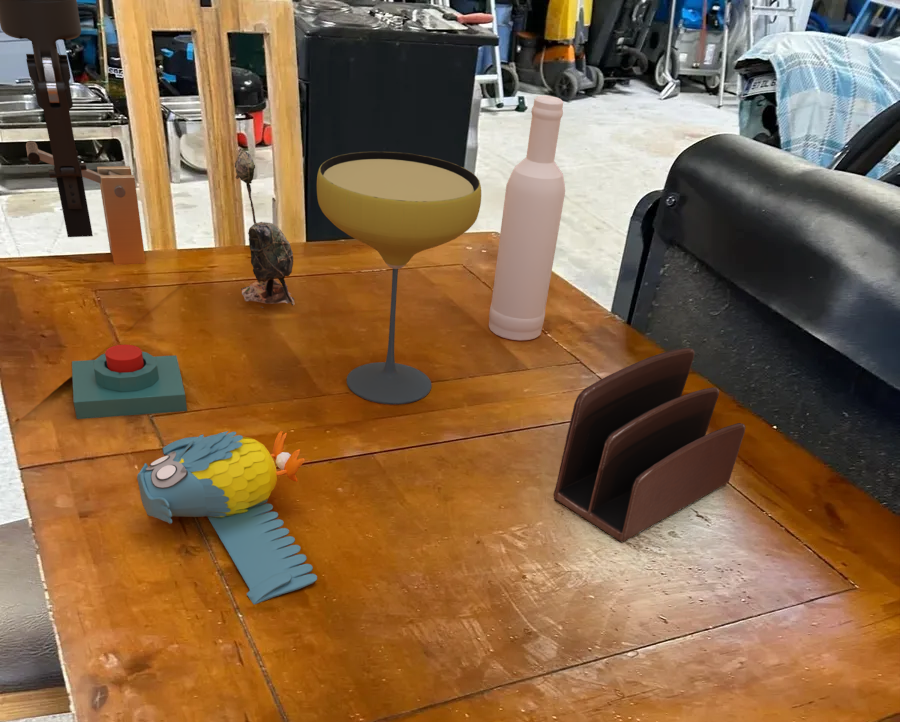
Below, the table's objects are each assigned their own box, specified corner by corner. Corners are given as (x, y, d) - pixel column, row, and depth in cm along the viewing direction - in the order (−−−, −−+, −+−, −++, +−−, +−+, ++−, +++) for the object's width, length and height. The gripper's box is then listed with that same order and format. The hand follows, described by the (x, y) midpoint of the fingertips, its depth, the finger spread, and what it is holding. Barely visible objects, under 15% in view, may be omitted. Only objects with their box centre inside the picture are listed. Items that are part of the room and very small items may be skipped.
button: (108, 375, 100) (105, 361, 99) (106, 359, 103) (104, 345, 102) (145, 373, 102) (143, 359, 100) (142, 357, 104) (140, 343, 103)
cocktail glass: (486, 382, 115) (512, 179, 99) (405, 436, 103) (420, 214, 87) (375, 339, 122) (383, 141, 106) (287, 384, 110) (281, 169, 94)
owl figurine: (354, 500, 78) (183, 544, 71) (353, 575, 83) (195, 622, 77) (242, 361, 95) (96, 386, 89) (248, 431, 101) (112, 460, 94)
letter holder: (551, 499, 96) (575, 381, 87) (661, 446, 107) (692, 336, 98) (621, 545, 91) (655, 424, 82) (729, 484, 102) (769, 371, 93)
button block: (77, 419, 99) (70, 387, 97) (75, 377, 106) (68, 346, 104) (187, 411, 103) (183, 379, 100) (178, 371, 110) (174, 341, 107)
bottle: (525, 346, 125) (563, 109, 105) (477, 330, 127) (506, 96, 108) (551, 329, 130) (591, 100, 111) (504, 313, 133) (535, 87, 113)
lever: (25, 165, 116) (30, 146, 115) (23, 152, 120) (28, 135, 119) (127, 204, 123) (132, 187, 122) (122, 191, 127) (127, 175, 126)
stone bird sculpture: (255, 323, 122) (248, 169, 109) (230, 291, 129) (220, 143, 116) (311, 317, 125) (310, 166, 112) (283, 286, 133) (279, 141, 120)
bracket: (89, 284, 127) (72, 182, 118) (84, 261, 133) (66, 162, 124) (176, 280, 131) (165, 181, 122) (166, 257, 137) (155, 161, 128)
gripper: (77, 0, 83) (118, 253, 99) (72, -20, 93) (110, 214, 108) (-10, -3, 81) (46, 256, 96) (-7, -24, 90) (43, 216, 106)
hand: (80, 234), depth 102 cm, fingers closed
